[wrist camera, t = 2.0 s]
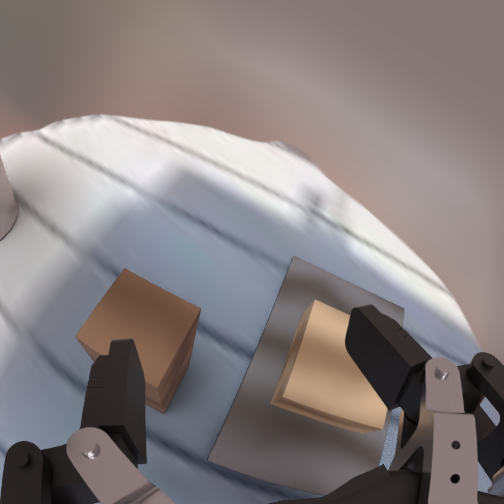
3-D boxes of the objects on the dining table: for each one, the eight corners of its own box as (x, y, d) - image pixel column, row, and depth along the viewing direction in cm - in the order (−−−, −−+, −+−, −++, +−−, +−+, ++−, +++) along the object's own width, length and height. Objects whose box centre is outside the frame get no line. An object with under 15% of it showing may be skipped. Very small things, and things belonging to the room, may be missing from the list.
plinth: (363, 501, 20) (388, 503, 17) (206, 460, 20) (212, 462, 17) (401, 310, 35) (420, 295, 32) (292, 258, 36) (304, 237, 33)
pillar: (164, 413, 22) (157, 387, 13) (114, 385, 22) (75, 336, 13) (188, 366, 25) (200, 308, 16) (140, 340, 25) (124, 268, 16)
